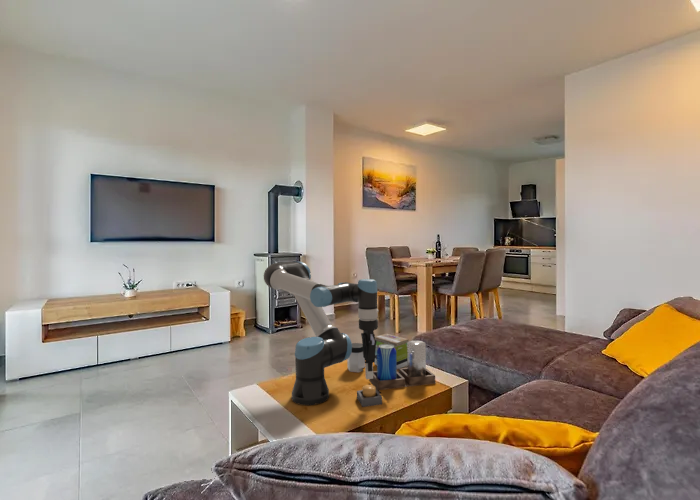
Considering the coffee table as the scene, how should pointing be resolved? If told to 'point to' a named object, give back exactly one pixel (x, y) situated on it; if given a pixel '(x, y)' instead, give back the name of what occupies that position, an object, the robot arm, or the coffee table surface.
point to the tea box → (399, 346)
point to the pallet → (402, 380)
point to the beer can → (386, 362)
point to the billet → (416, 358)
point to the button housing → (369, 399)
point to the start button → (369, 391)
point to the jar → (356, 358)
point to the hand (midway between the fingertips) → (369, 378)
